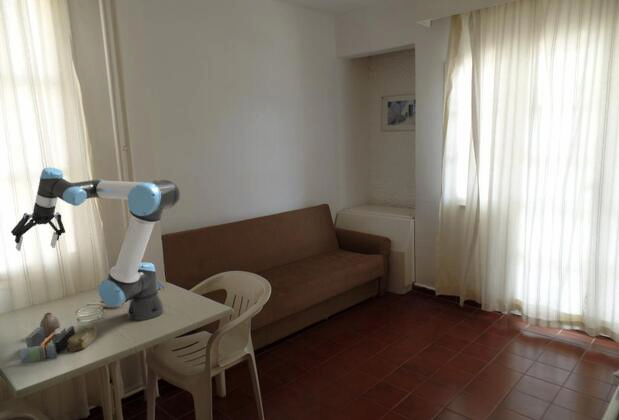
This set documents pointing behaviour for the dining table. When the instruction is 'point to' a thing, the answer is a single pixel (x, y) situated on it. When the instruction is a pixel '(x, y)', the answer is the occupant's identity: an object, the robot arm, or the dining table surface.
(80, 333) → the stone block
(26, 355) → the gauge housing
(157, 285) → the woven mat
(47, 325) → the vase
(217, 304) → the dining table surface
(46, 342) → the plunger
